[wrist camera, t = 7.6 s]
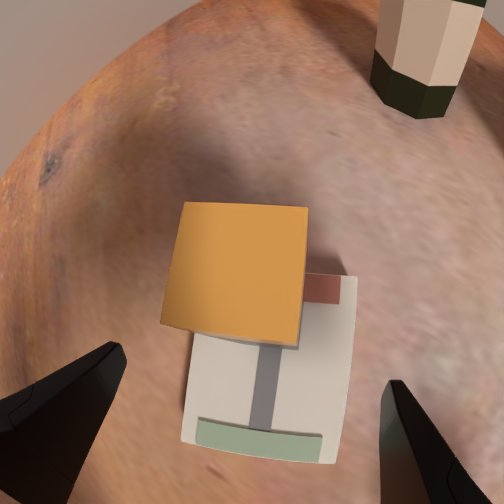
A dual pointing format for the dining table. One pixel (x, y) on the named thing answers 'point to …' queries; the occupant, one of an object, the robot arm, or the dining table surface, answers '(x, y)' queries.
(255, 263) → the lever
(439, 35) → the wine bottle
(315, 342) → the plate
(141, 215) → the dining table surface
